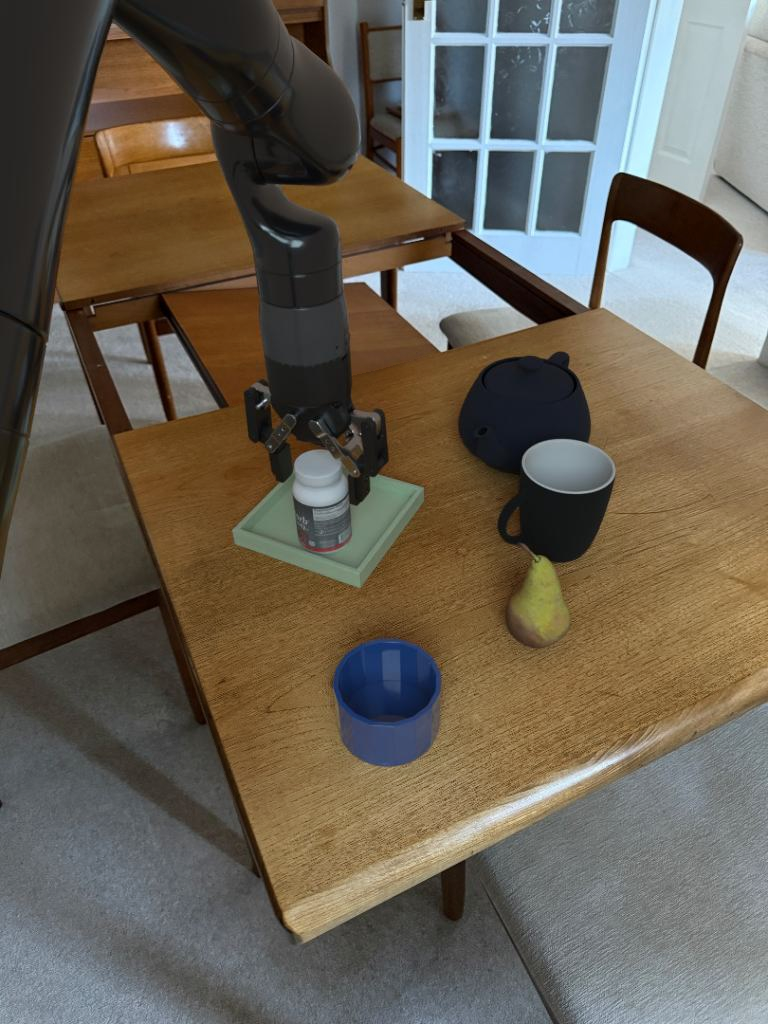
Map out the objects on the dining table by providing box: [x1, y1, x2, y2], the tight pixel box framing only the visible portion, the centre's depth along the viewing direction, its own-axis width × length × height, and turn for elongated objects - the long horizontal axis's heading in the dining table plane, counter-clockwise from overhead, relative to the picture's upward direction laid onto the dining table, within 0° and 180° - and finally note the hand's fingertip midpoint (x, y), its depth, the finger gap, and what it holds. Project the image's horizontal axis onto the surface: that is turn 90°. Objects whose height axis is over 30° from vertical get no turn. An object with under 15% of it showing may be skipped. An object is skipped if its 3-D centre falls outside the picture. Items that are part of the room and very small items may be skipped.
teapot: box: [457, 350, 592, 476], centre depth 86 cm, size 25×16×12 cm, turn 148°
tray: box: [231, 464, 425, 589], centre depth 80 cm, size 15×15×2 cm
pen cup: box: [332, 637, 442, 768], centre depth 60 cm, size 8×8×6 cm
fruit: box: [505, 542, 572, 649], centre depth 64 cm, size 6×6×12 cm
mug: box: [496, 439, 617, 563], centre depth 74 cm, size 12×9×10 cm
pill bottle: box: [292, 449, 352, 554], centre depth 75 cm, size 6×6×10 cm
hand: (320, 489), depth 74 cm, fingers open, 8 cm apart
